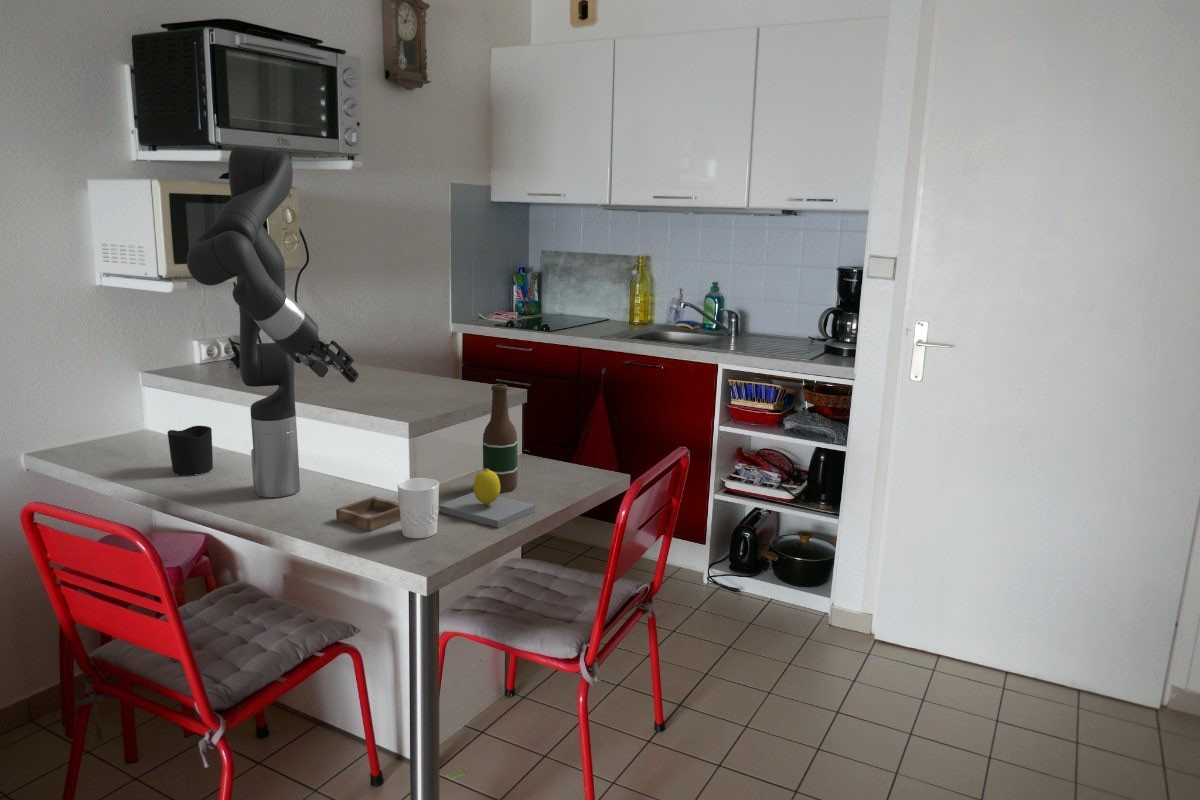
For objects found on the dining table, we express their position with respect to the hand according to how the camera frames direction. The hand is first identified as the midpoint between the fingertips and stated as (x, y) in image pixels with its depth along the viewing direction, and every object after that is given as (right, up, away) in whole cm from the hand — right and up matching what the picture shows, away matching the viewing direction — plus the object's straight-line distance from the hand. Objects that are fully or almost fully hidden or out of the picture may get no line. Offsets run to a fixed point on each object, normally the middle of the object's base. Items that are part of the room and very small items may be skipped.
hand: (339, 376), depth 167 cm
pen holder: (-47, -22, +42) cm, 67 cm away
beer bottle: (+27, -25, +33) cm, 49 cm away
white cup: (+14, -31, +5) cm, 34 cm away
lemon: (+26, -27, +17) cm, 41 cm away
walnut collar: (+3, -29, +12) cm, 31 cm away
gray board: (+26, -28, +17) cm, 42 cm away
